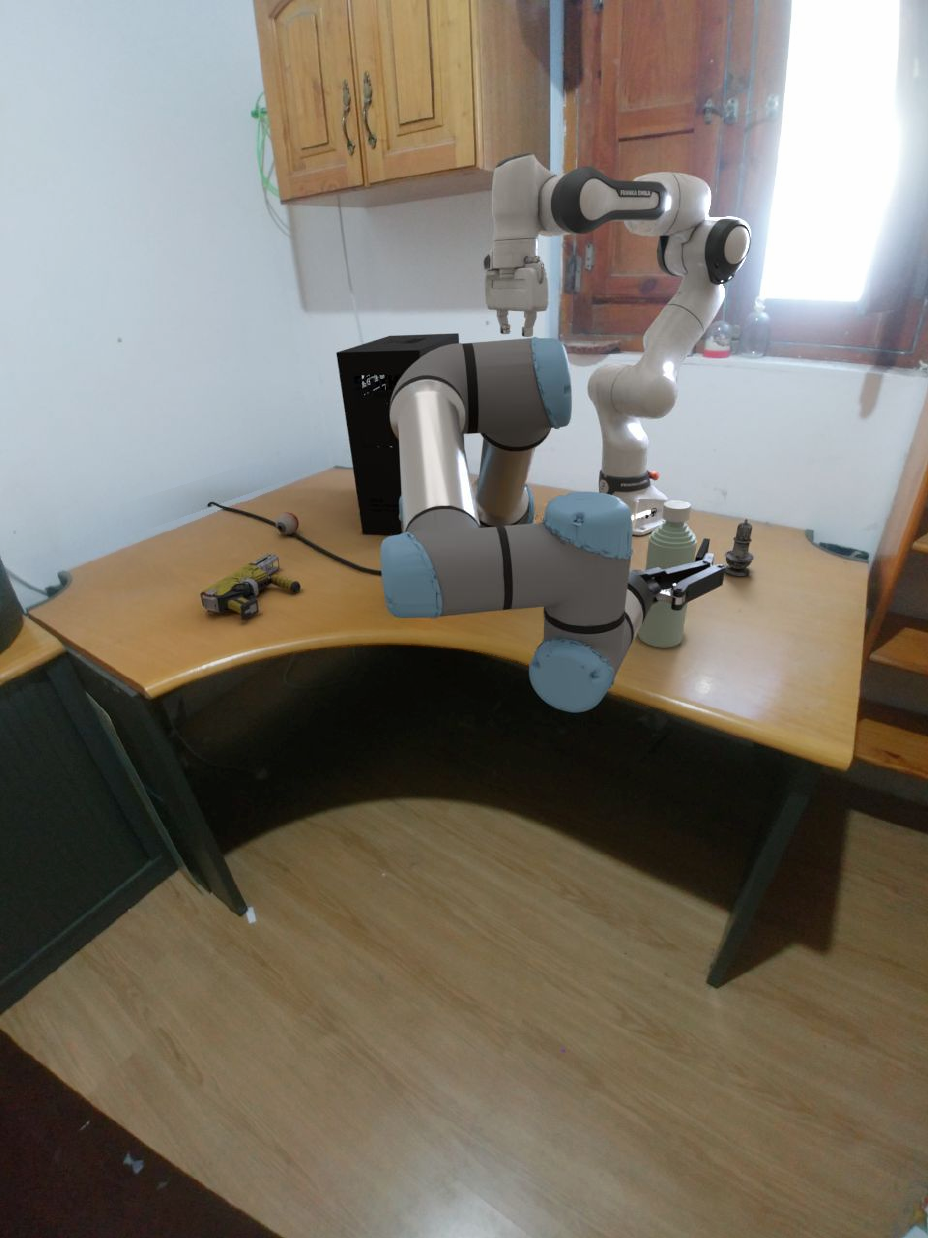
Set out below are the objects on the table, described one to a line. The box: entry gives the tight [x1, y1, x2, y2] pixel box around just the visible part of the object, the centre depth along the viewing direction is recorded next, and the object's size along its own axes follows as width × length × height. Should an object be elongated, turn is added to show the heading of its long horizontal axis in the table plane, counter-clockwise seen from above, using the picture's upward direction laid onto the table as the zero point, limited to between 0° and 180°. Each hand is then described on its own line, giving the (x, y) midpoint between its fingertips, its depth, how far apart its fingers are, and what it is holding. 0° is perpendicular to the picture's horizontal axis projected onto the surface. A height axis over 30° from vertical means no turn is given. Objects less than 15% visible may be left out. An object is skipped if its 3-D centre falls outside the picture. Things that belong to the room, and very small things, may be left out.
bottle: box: [637, 521, 698, 649], centre depth 105 cm, size 8×8×25 cm
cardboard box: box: [335, 332, 465, 536], centre depth 165 cm, size 38×20×45 cm, turn 167°
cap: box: [662, 499, 692, 523], centre depth 99 cm, size 4×4×2 cm
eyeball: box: [275, 511, 300, 536], centre depth 163 cm, size 6×6×6 cm
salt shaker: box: [724, 518, 755, 577], centre depth 129 cm, size 6×6×12 cm
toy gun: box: [199, 552, 301, 621], centre depth 133 cm, size 5×24×15 cm
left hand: (653, 541), depth 83 cm, fingers open, 13 cm apart
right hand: (516, 335), depth 125 cm, fingers open, 8 cm apart
